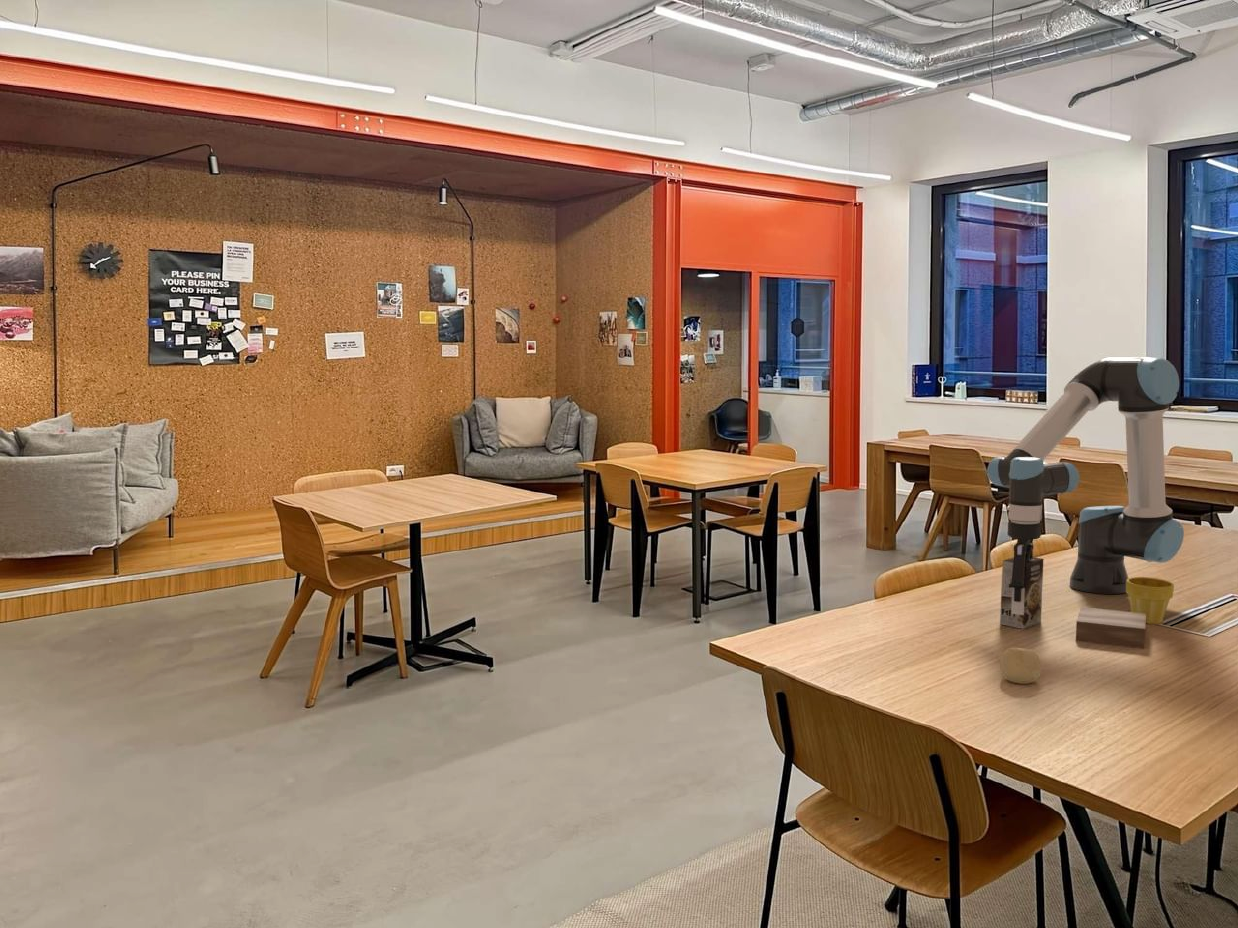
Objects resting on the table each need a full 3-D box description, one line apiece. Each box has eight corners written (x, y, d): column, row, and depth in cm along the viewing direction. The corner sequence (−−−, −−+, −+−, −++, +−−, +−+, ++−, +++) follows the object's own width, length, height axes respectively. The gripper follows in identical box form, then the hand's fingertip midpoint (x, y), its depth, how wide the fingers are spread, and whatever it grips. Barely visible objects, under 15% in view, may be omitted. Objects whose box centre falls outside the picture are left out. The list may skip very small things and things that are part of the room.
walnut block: (1079, 626, 241) (1080, 606, 241) (1144, 634, 235) (1146, 613, 234) (1075, 642, 229) (1076, 621, 229) (1144, 650, 222) (1145, 628, 222)
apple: (1007, 686, 198) (994, 649, 201) (1007, 690, 205) (994, 654, 208) (1048, 676, 196) (1034, 639, 199) (1045, 681, 203) (1032, 644, 206)
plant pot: (1177, 627, 239) (1180, 587, 237) (1131, 625, 241) (1133, 585, 240) (1163, 615, 249) (1165, 577, 248) (1118, 613, 251) (1120, 575, 250)
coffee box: (1024, 629, 238) (1026, 564, 236) (999, 624, 243) (1001, 559, 241) (1042, 622, 244) (1044, 558, 242) (1017, 617, 249) (1019, 554, 247)
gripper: (1015, 512, 253) (1012, 595, 255) (999, 528, 232) (996, 617, 234) (1047, 514, 249) (1044, 598, 252) (1034, 530, 228) (1030, 621, 231)
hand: (1021, 607), depth 243 cm, fingers open, 12 cm apart
